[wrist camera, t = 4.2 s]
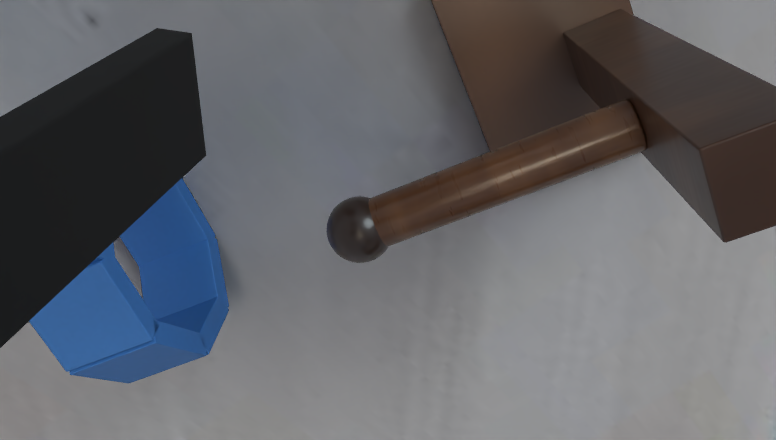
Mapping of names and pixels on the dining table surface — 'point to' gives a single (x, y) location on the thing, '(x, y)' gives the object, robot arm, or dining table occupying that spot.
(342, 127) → the dining table surface
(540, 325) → the dining table surface
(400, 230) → the stand
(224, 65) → the dining table surface
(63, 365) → the tape
